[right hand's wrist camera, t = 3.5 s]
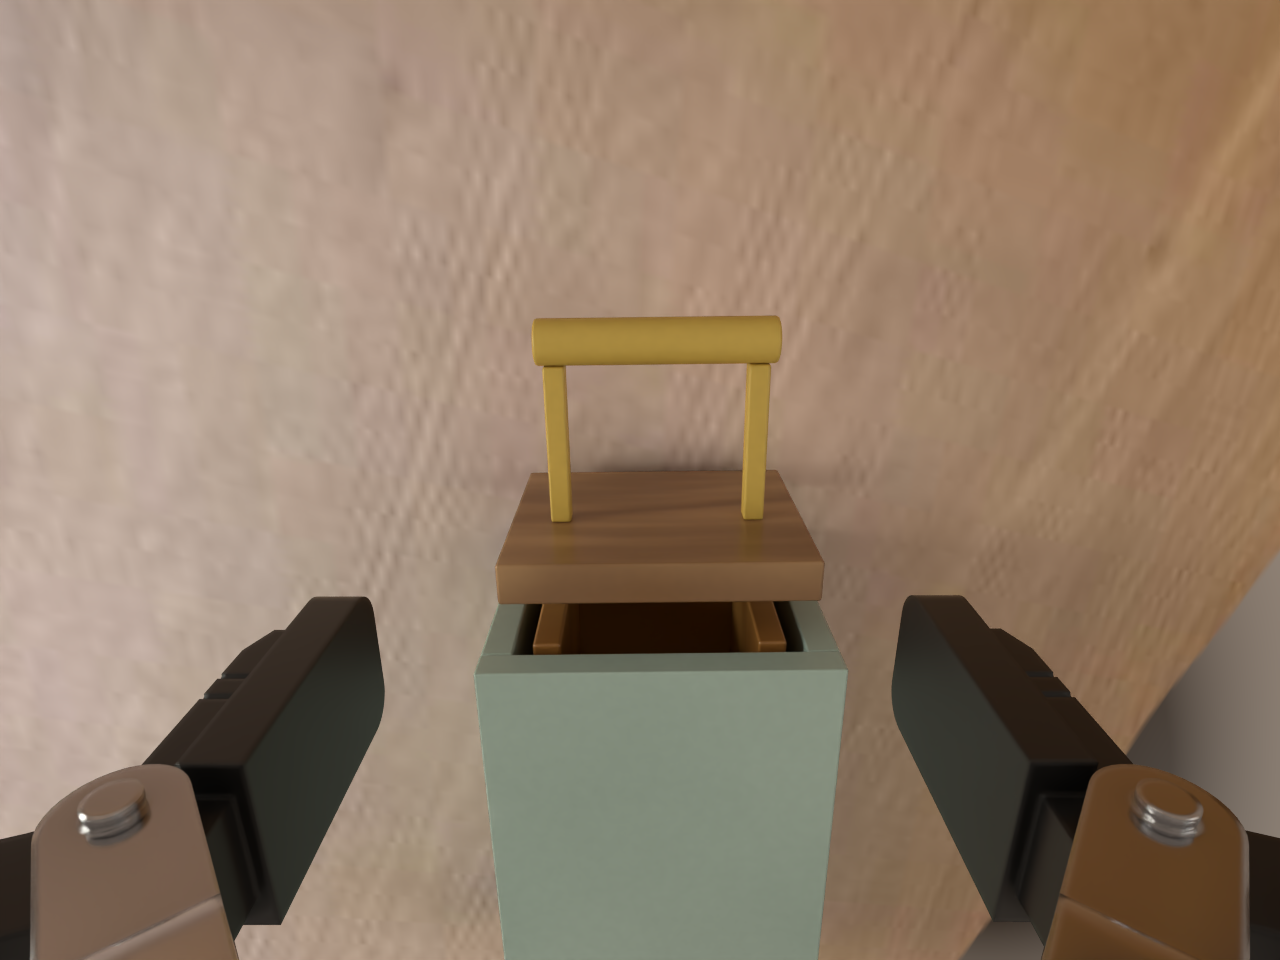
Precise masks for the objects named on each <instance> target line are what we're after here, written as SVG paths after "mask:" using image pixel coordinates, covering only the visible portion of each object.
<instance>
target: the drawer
mask: <svg viewBox="0 0 1280 960" xmlns="http://www.w3.org/2000/svg"><path fill="white" fill-rule="evenodd" d="M781 348H782V326H781V321H780V318H779V317H778V316H704V317H621V318H538V319H534V321H533V324H532V353H533V359H534V362H535V364H536V365H537V366H544V367H543V369H542V372H543V389H544V406H545V423H546V440H547V457H548V473H532V474H531V475H530V478H529V480H528V483H527V485H526V488H525V491H524V493H523V496H522V498H521V501H520V504H519V506H518V509H517V511H516V514H515V517H514V519H513V522H512V524H511V527H510V530H509V532H508V535H507V537H506V540H505V542H504V545H503V548H502V550H501V553H500V555H499V558H498V561H497V563H496V566H495V573H496V584H497V595H498V602H499V604H542V608H541V613H540V617H539V621H538V626H537V630H536V634H535V638H534V643H533V655H573V654H661V653H748V652H786V645H787V642H786V639H785V636H784V633H783V630H782V627H781V624H780V622H779V619H778V616H777V613H776V610H775V607H774V604H773V601H819V600H821V598H822V587H823V576H824V564H825V563H824V561H823V559H822V557H821V555H820V553H819V551H818V549H817V547H816V545H815V543H814V541H813V539H812V537H811V535H810V533H809V532H808V530H807V528H806V526H805V524H804V522H803V520H802V518H801V516H800V514H799V512H798V510H797V508H796V506H795V504H794V502H793V500H792V498H791V496H790V494H789V492H788V490H787V489H786V487H785V485H784V483H783V481H782V479H781V477H780V475H779V473H778V471H777V470H766V454H767V435H768V416H769V396H770V377H771V366H770V364H769V363H776V362H778V360H779V358H780V355H781ZM736 363H747V376H746V401H745V426H744V450H743V471H664V472H579V473H571V469H570V448H569V427H568V406H567V385H566V366H568V365H652V364H736Z"/></svg>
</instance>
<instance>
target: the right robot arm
mask: <svg viewBox="0 0 1280 960" xmlns="http://www.w3.org/2000/svg"><path fill="white" fill-rule="evenodd" d="M384 695H385V690H384V679H383V672H382V666H381V659H380V652H379V645H378V638H377V631H376V625H375V618H374V612H373V607H372V604H371V602H370V600H369V599H368V598H367V597H314V598H312V599H311V600H310V601H309V602H308V603H307V604H306V605H305V607H304V608H303V609H302V610H301V611H300V613H299V614H298V615H297V616H296V618H295V619H294V620H293V621H292V622H291V624H290V625H289V626H288V627H287V628H286V630H274V631H272V632H271V633H269V634H268V635H266V636H264V637H263V638H261V639H260V640H258V641H257V642H255V643H253V644H252V645H250V646H249V647H247V648H245V649H244V650H242V652H241V653H240V654H239V655H238V656H237V657H236V658H235V659H234V661H233V662H232V663H231V664H230V665H229V666H228V667H227V669H226V670H225V671H224V672H223V673H222V677H221V679H217V680H216V681H215V682H214V683H213V684H212V686H211V687H210V688H209V689H208V690H207V691H206V692H205V694H204V699H199V700H198V701H197V703H196V704H195V705H194V706H193V707H192V708H191V709H190V711H189V712H188V713H187V714H186V715H185V716H184V717H183V719H182V720H181V721H180V722H179V723H178V724H177V725H176V726H175V728H174V729H173V730H172V731H171V732H170V733H169V734H168V736H167V737H166V738H165V739H164V740H163V741H162V742H161V744H160V745H159V746H158V747H157V748H156V749H155V750H154V751H153V753H152V754H151V755H150V756H149V757H148V758H147V759H146V761H145V762H144V763H143V764H142V765H139V766H133V767H129V768H125V769H121V770H118V771H115V772H112V773H109V774H107V775H104V776H102V777H99V778H97V779H95V780H93V781H91V782H89V783H87V784H85V785H83V786H81V787H80V788H78V789H77V790H75V791H73V792H72V793H70V794H69V795H67V796H66V797H65V798H63V799H62V800H61V801H59V802H58V803H57V804H56V805H55V806H54V807H53V808H51V809H50V811H49V812H48V813H47V814H46V815H45V816H44V817H43V818H42V820H41V821H40V823H39V824H38V826H37V827H36V829H35V831H34V832H30V833H27V834H22V835H18V836H13V837H9V838H5V839H0V960H239V957H238V954H237V950H236V946H235V942H234V940H235V939H236V937H237V935H238V933H239V931H240V929H241V928H242V926H243V925H281V923H282V921H283V919H284V917H285V915H286V913H287V911H288V909H289V907H290V905H291V903H292V901H293V899H294V897H295V895H296V893H297V891H298V889H299V887H300V885H301V883H302V881H303V879H304V877H305V875H306V873H307V871H308V869H309V867H310V865H311V863H312V861H313V859H314V857H315V854H316V852H317V850H318V848H319V846H320V844H321V842H322V840H323V838H324V836H325V834H326V832H327V830H328V828H329V826H330V824H331V822H332V820H333V818H334V816H335V814H336V812H337V810H338V808H339V806H340V804H341V802H342V800H343V798H344V796H345V794H346V792H347V790H348V788H349V786H350V784H351V782H352V780H353V778H354V776H355V774H356V772H357V770H358V768H359V766H360V764H361V762H362V760H363V758H364V755H365V753H366V751H367V749H368V747H369V745H370V743H371V741H372V739H373V737H374V735H375V733H376V731H377V729H378V727H379V724H380V721H381V717H382V713H383V707H384ZM892 705H893V711H894V715H895V719H896V722H897V725H898V727H899V730H900V732H901V734H902V736H903V738H904V740H905V742H906V744H907V746H908V748H909V750H910V752H911V754H912V756H913V758H914V760H915V762H916V764H917V766H918V768H919V771H920V773H921V775H922V777H923V779H924V781H925V783H926V785H927V787H928V789H929V791H930V793H931V795H932V797H933V799H934V801H935V803H936V805H937V807H938V809H939V811H940V813H941V815H942V818H943V820H944V822H945V824H946V826H947V828H948V830H949V832H950V834H951V836H952V838H953V840H954V842H955V844H956V846H957V848H958V850H959V852H960V854H961V856H962V858H963V860H964V863H965V865H966V867H967V869H968V871H969V873H970V875H971V877H972V879H973V881H974V883H975V885H976V887H977V889H978V891H979V893H980V895H981V897H982V899H983V901H984V903H985V905H986V908H987V910H988V912H989V914H990V916H991V918H992V920H993V922H1031V923H1032V925H1033V927H1034V929H1035V931H1036V932H1037V934H1038V936H1039V938H1040V940H1041V942H1042V943H1043V945H1044V950H1043V954H1042V957H1041V960H1280V838H1276V837H1272V836H1268V835H1263V834H1259V833H1254V832H1250V831H1246V830H1245V829H1244V827H1243V826H1242V824H1241V823H1240V821H1239V820H1238V818H1237V817H1236V816H1235V815H1234V814H1233V813H1232V812H1231V811H1230V809H1229V808H1227V807H1226V806H1225V805H1224V804H1223V803H1222V802H1221V801H1219V800H1218V799H1217V798H1215V797H1214V796H1212V795H1211V794H1210V793H1208V792H1207V791H1205V790H1203V789H1202V788H1200V787H1199V786H1197V785H1195V784H1193V783H1191V782H1189V781H1187V780H1185V779H1183V778H1181V777H1178V776H1176V775H1173V774H1171V773H1168V772H1165V771H1162V770H1159V769H1155V768H1151V767H1147V766H1141V765H1134V764H1133V763H1132V762H1131V761H1130V760H1129V759H1128V758H1127V756H1126V755H1125V754H1124V753H1123V752H1122V751H1121V750H1120V748H1119V747H1118V746H1117V745H1116V744H1115V743H1114V742H1113V740H1112V739H1111V738H1110V737H1109V736H1108V735H1107V734H1106V732H1105V731H1104V730H1103V729H1102V728H1101V727H1100V726H1099V724H1098V723H1097V722H1096V721H1095V720H1094V719H1093V718H1092V716H1091V715H1090V714H1089V713H1088V712H1087V711H1086V709H1085V708H1084V707H1083V706H1082V705H1081V704H1080V703H1079V701H1078V700H1077V699H1076V698H1075V697H1071V695H1070V691H1069V690H1068V689H1067V688H1066V687H1065V685H1064V684H1063V683H1062V682H1061V681H1060V680H1059V679H1058V677H1054V676H1053V672H1052V671H1051V669H1050V668H1049V667H1048V666H1047V665H1046V664H1045V662H1044V661H1043V660H1042V659H1041V658H1040V657H1039V656H1038V654H1037V653H1036V652H1035V651H1034V650H1033V649H1032V648H1030V647H1029V646H1027V645H1026V644H1024V643H1023V642H1021V641H1019V640H1018V639H1016V638H1015V637H1013V636H1012V635H1010V634H1008V633H1007V632H1005V631H1004V630H1002V629H990V628H989V627H988V626H987V624H986V623H985V622H984V621H983V619H982V618H981V617H980V616H979V615H978V613H977V612H976V611H975V610H974V608H973V607H972V606H971V605H970V603H969V602H968V601H967V600H966V599H965V598H964V597H962V596H959V595H911V596H909V597H908V598H907V599H906V601H905V603H904V606H903V610H902V616H901V623H900V630H899V637H898V644H897V651H896V658H895V665H894V672H893V679H892Z"/></svg>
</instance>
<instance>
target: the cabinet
mask: <svg viewBox="0 0 1280 960" xmlns="http://www.w3.org/2000/svg"><path fill="white" fill-rule="evenodd" d="M773 604H774V607H775V610H776V613H777V616H778V619H779V622H780V624H781V627H782V630H783V633H784V636H785V639H786V642H787V645H786V652H748V653H661V654H573V655H533V643H534V638H535V634H536V630H537V626H538V621H539V617H540V613H541V608H542V604H498V607H497V610H496V612H495V615H494V618H493V621H492V624H491V627H490V630H489V633H488V636H487V639H486V642H485V645H484V647H483V650H482V653H481V656H480V658H479V661H478V664H477V667H476V670H475V673H474V681H475V691H476V700H477V709H478V718H479V728H480V737H481V746H482V755H483V764H484V774H485V783H486V792H487V801H488V811H489V820H490V829H491V838H492V848H493V857H494V866H495V875H496V884H497V894H498V903H499V912H500V921H501V931H502V940H503V949H504V958H505V960H818V954H819V944H820V935H821V925H822V916H823V906H824V897H825V887H826V878H827V868H828V858H829V849H830V839H831V830H832V820H833V811H834V801H835V792H836V782H837V773H838V763H839V754H840V744H841V735H842V725H843V716H844V706H845V697H846V687H847V678H848V669H847V667H846V664H845V662H844V660H843V658H842V655H841V653H840V652H839V649H838V647H837V644H836V642H835V640H834V638H833V635H832V633H831V631H830V629H829V626H828V624H827V622H826V620H825V617H824V615H823V613H822V611H821V608H820V606H819V604H818V602H817V601H773Z"/></svg>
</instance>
